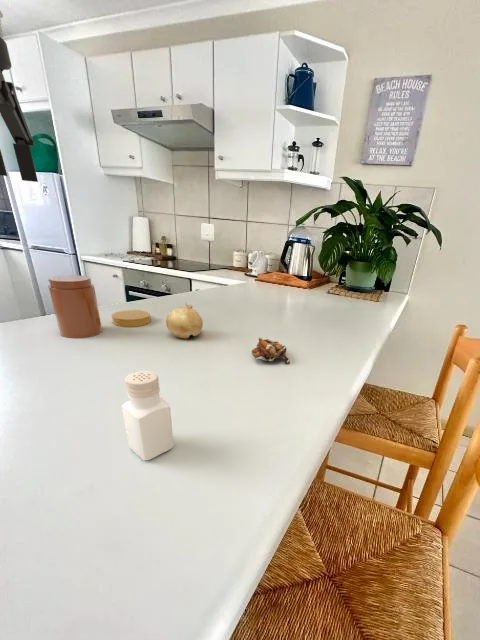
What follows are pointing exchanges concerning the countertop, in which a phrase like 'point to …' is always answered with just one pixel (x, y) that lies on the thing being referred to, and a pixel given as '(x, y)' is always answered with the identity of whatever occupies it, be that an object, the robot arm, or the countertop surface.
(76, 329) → the jar
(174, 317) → the onion
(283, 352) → the brown lumpy piece
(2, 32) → the robot arm
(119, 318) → the lid
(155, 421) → the salt shaker
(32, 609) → the countertop surface
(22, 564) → the countertop surface
